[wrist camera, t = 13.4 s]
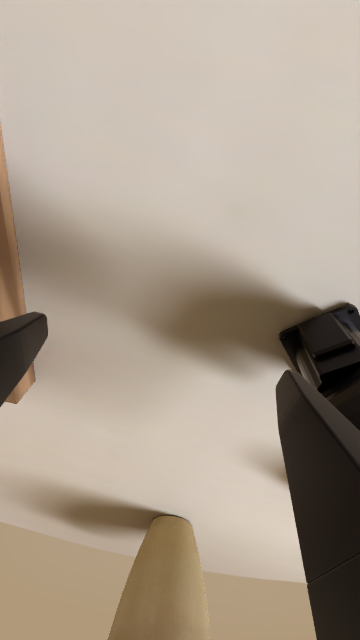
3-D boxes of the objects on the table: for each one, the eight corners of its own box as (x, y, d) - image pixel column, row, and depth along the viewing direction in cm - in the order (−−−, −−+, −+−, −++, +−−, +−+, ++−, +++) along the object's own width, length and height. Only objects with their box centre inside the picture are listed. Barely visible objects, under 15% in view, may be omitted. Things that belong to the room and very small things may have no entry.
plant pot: (120, 523, 50) (87, 657, 37) (156, 496, 43) (132, 650, 29) (185, 547, 53) (176, 678, 40) (229, 525, 46) (237, 678, 32)
